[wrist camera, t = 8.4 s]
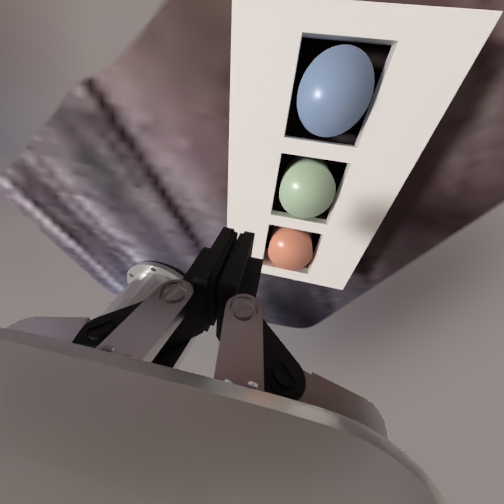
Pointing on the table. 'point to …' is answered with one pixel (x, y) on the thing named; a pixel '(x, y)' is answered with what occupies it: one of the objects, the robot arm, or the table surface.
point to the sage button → (307, 187)
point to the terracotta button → (290, 248)
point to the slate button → (335, 90)
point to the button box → (372, 130)
